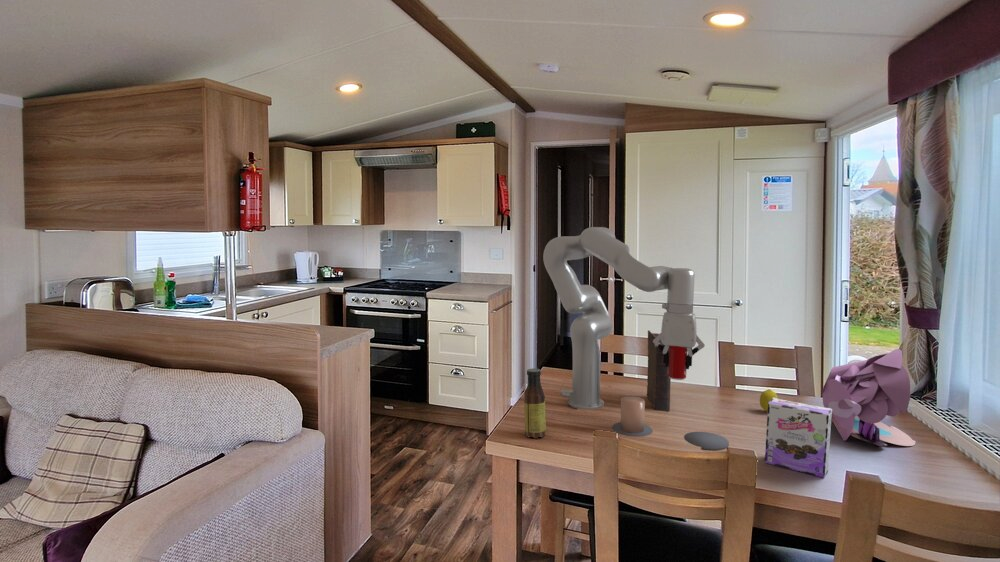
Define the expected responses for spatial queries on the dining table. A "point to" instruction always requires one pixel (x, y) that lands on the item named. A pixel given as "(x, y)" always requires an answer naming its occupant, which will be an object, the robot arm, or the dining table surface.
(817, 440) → the candy box
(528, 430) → the sauce bottle
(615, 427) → the left coaster
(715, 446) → the right coaster
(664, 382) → the book
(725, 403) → the dining table surface
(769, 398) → the lemon
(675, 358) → the soda can
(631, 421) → the beige rounded cylinder
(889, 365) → the flower arrangement
